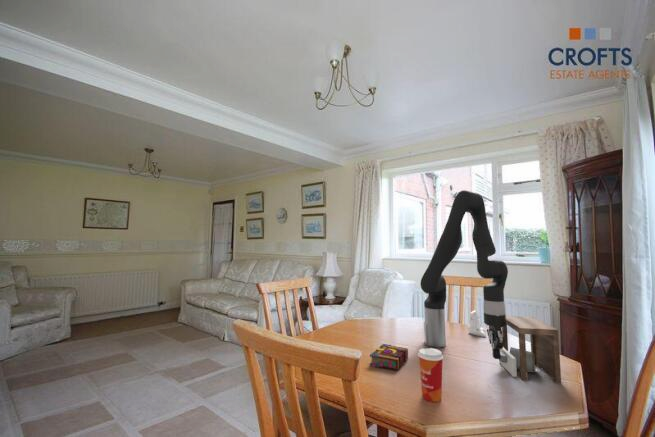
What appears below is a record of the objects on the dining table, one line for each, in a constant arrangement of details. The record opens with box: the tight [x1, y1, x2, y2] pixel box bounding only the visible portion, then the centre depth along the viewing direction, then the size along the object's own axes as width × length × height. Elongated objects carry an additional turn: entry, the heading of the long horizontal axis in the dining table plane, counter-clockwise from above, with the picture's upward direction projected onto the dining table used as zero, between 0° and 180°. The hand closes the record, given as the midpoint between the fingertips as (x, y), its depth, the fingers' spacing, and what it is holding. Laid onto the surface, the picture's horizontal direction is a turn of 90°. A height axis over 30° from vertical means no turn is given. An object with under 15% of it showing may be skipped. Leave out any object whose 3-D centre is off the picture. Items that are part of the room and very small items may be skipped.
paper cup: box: [417, 347, 444, 403], centre depth 95 cm, size 8×8×14 cm
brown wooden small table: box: [501, 315, 562, 384], centre depth 114 cm, size 12×18×18 cm, turn 169°
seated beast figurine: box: [467, 310, 487, 338], centre depth 160 cm, size 10×9×12 cm
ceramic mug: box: [509, 346, 536, 373], centre depth 116 cm, size 11×8×8 cm
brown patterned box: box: [369, 343, 409, 371], centre depth 123 cm, size 11×16×5 cm
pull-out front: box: [498, 347, 518, 378], centre depth 115 cm, size 3×14×6 cm, turn 169°
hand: (496, 358), depth 116 cm, fingers closed
